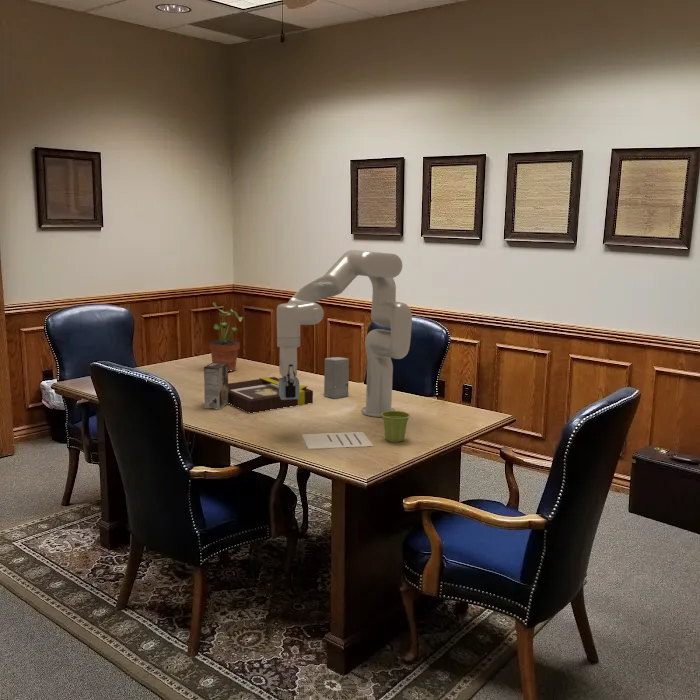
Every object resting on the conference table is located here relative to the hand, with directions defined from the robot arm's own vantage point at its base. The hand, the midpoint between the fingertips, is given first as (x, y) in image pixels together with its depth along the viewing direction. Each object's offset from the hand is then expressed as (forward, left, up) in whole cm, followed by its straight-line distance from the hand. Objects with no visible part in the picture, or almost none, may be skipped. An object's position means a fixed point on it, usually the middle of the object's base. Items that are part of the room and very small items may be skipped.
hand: (289, 394), depth 238 cm
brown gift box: (-45, -4, -14) cm, 47 cm away
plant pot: (+11, +34, -14) cm, 38 cm away
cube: (0, 0, -1) cm, 1 cm away
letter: (+9, +15, -14) cm, 22 cm away
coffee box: (-39, -23, -14) cm, 47 cm away
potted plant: (-102, -16, -14) cm, 104 cm away
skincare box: (-49, +26, -14) cm, 57 cm away
